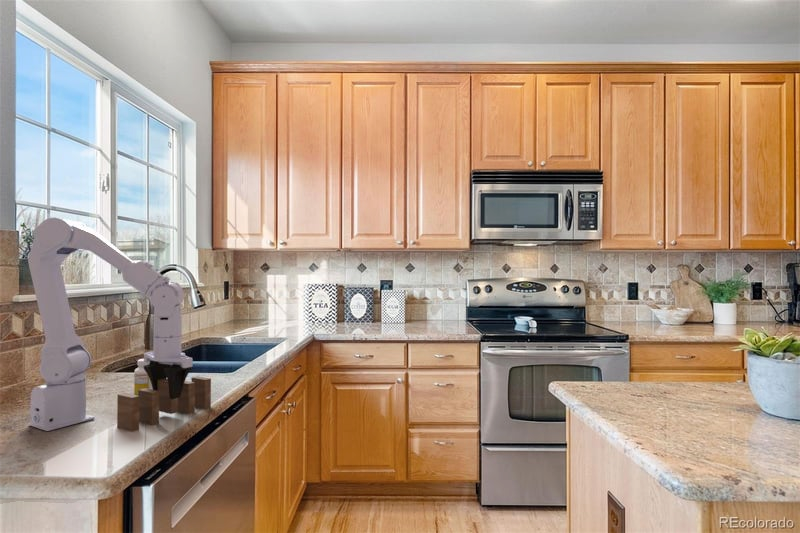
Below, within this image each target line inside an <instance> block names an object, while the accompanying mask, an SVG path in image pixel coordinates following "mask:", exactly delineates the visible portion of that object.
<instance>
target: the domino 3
mask: <svg viewBox="0 0 800 533" xmlns="http://www.w3.org/2000/svg"><path fill="white" fill-rule="evenodd" d="M157 391H159V412H161V413H164V414H165V413H166V414H168V415H169V414H170V415H173V414H177V413H179V412H178V398H175V399H170V396H169V385H168V380H167V379H159V380H157Z"/></svg>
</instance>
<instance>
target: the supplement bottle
mask: <svg viewBox="0 0 800 533" xmlns="http://www.w3.org/2000/svg"><path fill="white" fill-rule="evenodd" d="M149 363H150V362H144V358H139V359H137V366H138V367H137V368H135V369H134V375H133V376H134V379H133V380H134V383H133V384H134V385H133V386H134V388H133V390H134V391H133V392H134V394H133V395H137V396H138V390H139V389H144V388H146V389H151V390H153V388H152V384H151V381H150V378H149V376H148V374H147V373H146V371H145V370H144V365H149Z"/></svg>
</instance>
